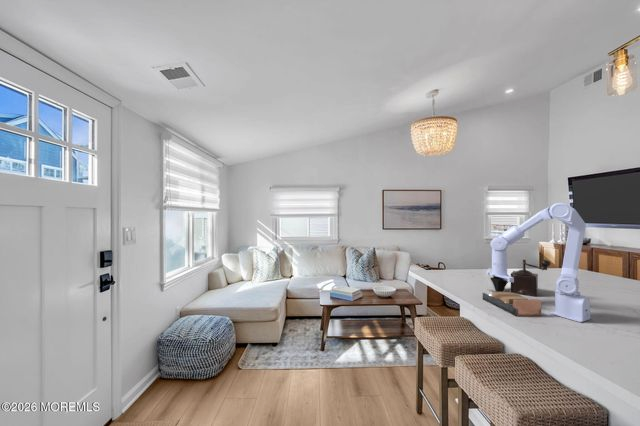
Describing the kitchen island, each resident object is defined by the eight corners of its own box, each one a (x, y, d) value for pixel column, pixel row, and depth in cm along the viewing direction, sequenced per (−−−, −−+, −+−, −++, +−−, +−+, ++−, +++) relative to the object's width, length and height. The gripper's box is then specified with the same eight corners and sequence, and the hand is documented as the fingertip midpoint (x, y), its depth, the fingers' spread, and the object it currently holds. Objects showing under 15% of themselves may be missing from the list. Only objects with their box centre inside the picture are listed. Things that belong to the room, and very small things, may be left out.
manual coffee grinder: (509, 292, 132) (509, 256, 132) (513, 288, 140) (512, 254, 140) (550, 299, 121) (550, 260, 121) (551, 294, 129) (551, 257, 129)
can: (504, 294, 130) (504, 269, 130) (486, 291, 134) (486, 267, 134) (505, 290, 136) (505, 267, 135) (487, 288, 140) (487, 265, 140)
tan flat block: (492, 296, 117) (492, 291, 117) (509, 295, 117) (509, 291, 117) (509, 304, 107) (509, 299, 107) (528, 303, 107) (528, 298, 107)
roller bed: (482, 299, 122) (482, 286, 122) (503, 298, 122) (503, 286, 122) (516, 316, 102) (516, 300, 102) (541, 315, 102) (541, 300, 102)
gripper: (480, 261, 125) (480, 289, 125) (502, 267, 111) (502, 299, 111) (494, 260, 125) (494, 289, 125) (518, 267, 111) (518, 299, 111)
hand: (499, 294), depth 118 cm, fingers closed
